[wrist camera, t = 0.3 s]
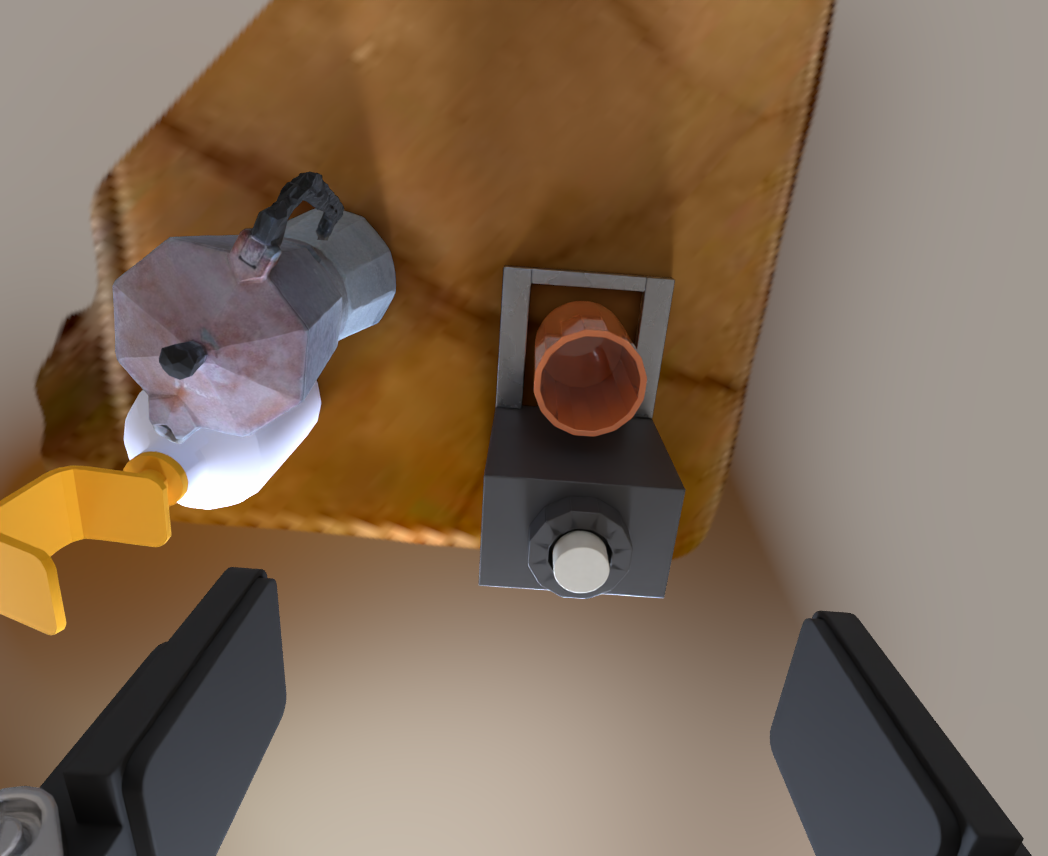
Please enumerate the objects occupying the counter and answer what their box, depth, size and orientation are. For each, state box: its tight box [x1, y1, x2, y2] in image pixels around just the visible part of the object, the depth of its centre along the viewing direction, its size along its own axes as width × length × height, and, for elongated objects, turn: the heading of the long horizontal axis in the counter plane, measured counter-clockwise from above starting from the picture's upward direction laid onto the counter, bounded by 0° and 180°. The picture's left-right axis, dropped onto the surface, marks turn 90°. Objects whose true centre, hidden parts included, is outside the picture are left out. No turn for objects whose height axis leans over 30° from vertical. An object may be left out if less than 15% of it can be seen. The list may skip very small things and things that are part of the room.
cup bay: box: [496, 265, 675, 418], centre depth 45 cm, size 10×12×1 cm
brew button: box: [553, 531, 610, 593], centre depth 35 cm, size 3×3×2 cm
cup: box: [534, 301, 647, 437], centre depth 41 cm, size 7×7×9 cm
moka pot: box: [113, 172, 396, 444], centre depth 34 cm, size 10×15×20 cm, turn 149°
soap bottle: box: [0, 381, 321, 635], centre depth 36 cm, size 9×9×25 cm
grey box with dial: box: [479, 405, 685, 599], centre depth 42 cm, size 8×12×14 cm, turn 86°
